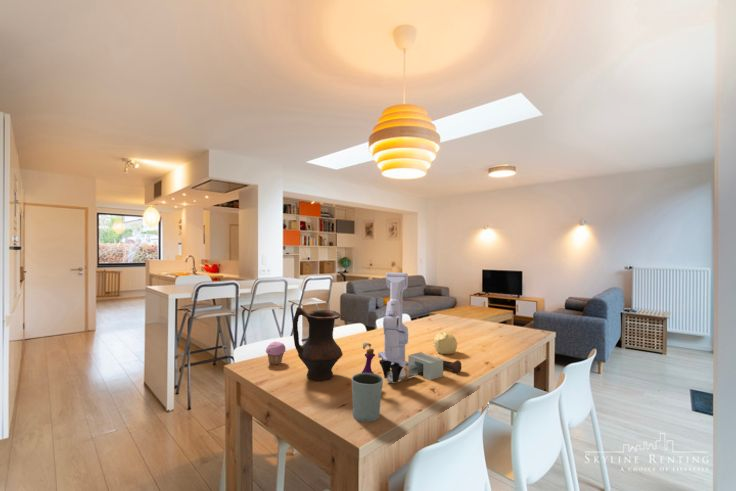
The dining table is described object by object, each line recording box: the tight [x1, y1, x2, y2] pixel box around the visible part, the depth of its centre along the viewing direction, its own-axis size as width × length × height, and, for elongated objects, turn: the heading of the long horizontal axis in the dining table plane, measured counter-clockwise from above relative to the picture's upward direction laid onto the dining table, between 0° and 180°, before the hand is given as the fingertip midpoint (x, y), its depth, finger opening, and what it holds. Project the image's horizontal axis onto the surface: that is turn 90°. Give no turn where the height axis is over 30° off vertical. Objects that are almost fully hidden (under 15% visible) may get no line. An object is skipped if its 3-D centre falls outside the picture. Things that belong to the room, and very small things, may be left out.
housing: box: [407, 351, 444, 381], centre depth 146 cm, size 13×8×7 cm, turn 37°
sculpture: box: [433, 331, 458, 355], centre depth 177 cm, size 12×12×11 cm
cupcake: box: [265, 341, 286, 365], centre depth 157 cm, size 9×9×10 cm
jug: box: [292, 305, 344, 382], centre depth 141 cm, size 21×18×30 cm
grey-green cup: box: [351, 372, 384, 423], centre depth 108 cm, size 10×10×12 cm
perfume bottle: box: [361, 342, 376, 374], centre depth 128 cm, size 8×8×18 cm
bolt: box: [436, 356, 462, 374], centre depth 152 cm, size 6×5×15 cm
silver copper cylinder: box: [385, 364, 419, 384], centre depth 138 cm, size 6×14×6 cm, turn 127°
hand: (391, 379), depth 134 cm, fingers closed on silver copper cylinder, 5 cm apart
